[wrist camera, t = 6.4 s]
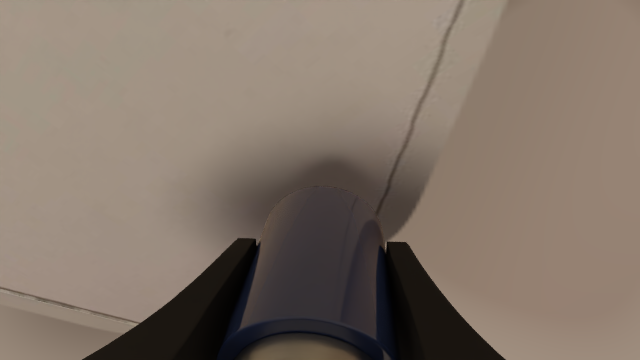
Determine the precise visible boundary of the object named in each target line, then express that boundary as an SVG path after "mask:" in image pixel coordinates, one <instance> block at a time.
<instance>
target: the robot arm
mask: <svg viewBox="0 0 640 360" xmlns="http://www.w3.org/2000/svg"><path fill="white" fill-rule="evenodd" d="M256 248H257V245H256V239H252V238H238V239H237V240H236V241H235V242H234V243H233V244H232V245H230V246H229V247H228V248H227V249H226V250H225V251H224V252H223V253H222V254H221V255H220V256H219V257H218V258H217V259H216V260H215V261H214V262H213V263H212V264H211V265H210V266H209V267H208V268H207V269H206V270H205V271H204V272H203V273H202V274H201V275H199V276H198V277H197V278H196V279H195V280H194V281H193V282H192V283H191V284H190V285H188V286H187V287H186V288H185V289H184V290H183V291H181V292H180V293H179V294H178V295H177V296H176V297H174V298H173V299H172V300H171V301H170V302H168V303H167V304H166V305H164V306H163V307H162V308H161V309H159V310H158V311H157V312H155V313H154V314H152V315H151V316H150V317H148V318H147V319H146V320H144V321H143V322H141V323H140V324H139V325H137V326H136V327H134V328H132V329H131V330H129V331H128V332H126V333H125V334H123V335H122V336H120V337H119V338H117V339H115V340H114V341H112V342H111V343H109V344H108V345H106V346H104V347H103V348H101V349H99V350H98V351H96V352H94V353H93V354H91V355H89V356H87V357H86V358H84V359H82V360H215V358H216V354H217V351H218V349H219V346H220V343H221V341H222V338H223V335H224V333H225V330H226V328H227V325H228V322H229V320H230V317H231V314H232V312H233V309H234V306H235V304H236V301H237V298H238V296H239V293H240V290H241V288H242V285H243V282H244V280H245V277H246V274H247V272H248V269H249V266H250V264H251V261H252V258H253V256H254V253H255V251H256ZM386 257H387V264H388V271H389V278H390V285H391V292H392V299H393V305H394V312H395V319H396V326H397V333H398V340H399V347H400V354H401V360H505V359H504V358H503V357H502V356H501V355H500V354H498V353H497V352H496V351H495V350H494V349H493V348H492V347H491V346H490V345H489V344H488V343H487V342H486V341H485V340H484V339H483V338H482V337H481V336H480V335H479V334H478V333H477V332H476V331H475V330H474V329H473V328H472V327H471V326H470V325H469V324H468V323H467V322H466V321H465V320H464V318H463V317H462V316H461V315H460V314H459V313H458V312H457V311H456V309H455V308H454V307H453V306H452V305H451V303H450V302H449V301H448V300H447V299H446V297H445V296H444V295H443V294H442V293H441V291H440V290H439V289H438V287H437V286H436V285H435V283H434V282H433V281H432V279H431V278H430V277H429V275H428V274H427V272H426V271H425V270H424V268H423V267H422V265H421V264H420V262H419V261H418V259H417V258H416V256H415V255H414V253H413V251H412V250H411V248H410V246H409V245H408V244H407V243H406V242H387V248H386Z"/></svg>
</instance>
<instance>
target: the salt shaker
mask: <svg viewBox="0 0 640 360" xmlns="http://www.w3.org/2000/svg"><path fill="white" fill-rule="evenodd" d="M215 360H401V354H400V347H399V340H398V333H397V326H396V319H395V312H394V305H393V299H392V292H391V285H390V278H389V271H388V264H387V257H386V250H385V243H384V236H383V229H382V225H381V222H380V220H379V218H378V216H377V214H376V213H375V211H374V210H373V209H372V207H371V206H370V205H369V204H368V203H366V202H365V201H364V200H363V199H361V198H360V197H358V196H357V195H355V194H353V193H351V192H349V191H346V190H343V189H340V188H335V187H329V186H313V187H307V188H303V189H300V190H297V191H295V192H292V193H290V194H289V195H287V196H285V197H284V198H283V199H281V200H280V201H279V202H278V203H277V204H276V205H275V206H274V208H273V209H272V211H271V212H270V214H269V216H268V219H267V221H266V224H265V227H264V229H263V232H262V235H261V237H260V240H259V243H258V245H257V248H256V251H255V253H254V256H253V258H252V261H251V264H250V266H249V269H248V272H247V274H246V277H245V280H244V282H243V285H242V288H241V290H240V293H239V296H238V298H237V301H236V304H235V306H234V309H233V312H232V314H231V317H230V320H229V322H228V325H227V328H226V330H225V333H224V335H223V338H222V341H221V343H220V346H219V349H218V351H217V354H216V358H215Z"/></svg>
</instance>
